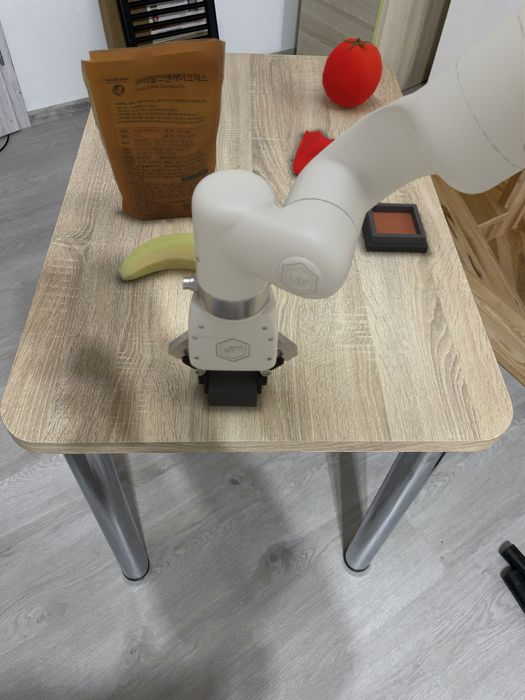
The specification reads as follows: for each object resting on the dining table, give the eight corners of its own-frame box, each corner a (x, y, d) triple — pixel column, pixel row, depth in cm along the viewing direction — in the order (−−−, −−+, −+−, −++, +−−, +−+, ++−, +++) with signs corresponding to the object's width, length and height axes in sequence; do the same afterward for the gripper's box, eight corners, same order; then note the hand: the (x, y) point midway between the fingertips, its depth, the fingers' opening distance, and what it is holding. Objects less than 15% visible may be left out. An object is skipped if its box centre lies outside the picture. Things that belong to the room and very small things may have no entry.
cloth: (279, 134, 109) (280, 123, 107) (344, 130, 111) (346, 119, 109) (309, 215, 93) (311, 204, 91) (384, 208, 95) (387, 198, 94)
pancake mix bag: (229, 221, 91) (229, 46, 69) (114, 229, 89) (75, 51, 67) (224, 197, 95) (222, 24, 73) (114, 204, 93) (78, 27, 71)
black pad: (255, 368, 73) (256, 354, 70) (256, 406, 69) (257, 392, 66) (211, 367, 72) (210, 353, 70) (209, 406, 69) (208, 392, 66)
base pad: (415, 214, 95) (419, 201, 93) (426, 252, 89) (431, 240, 86) (358, 212, 94) (361, 200, 92) (366, 251, 88) (369, 238, 86)
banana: (172, 202, 82) (276, 271, 77) (177, 223, 87) (276, 290, 82) (109, 264, 78) (215, 341, 73) (119, 282, 83) (219, 356, 78)
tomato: (315, 91, 121) (323, 26, 110) (368, 90, 122) (381, 27, 111) (323, 118, 114) (333, 52, 103) (380, 117, 115) (395, 52, 104)
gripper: (145, 312, 53) (163, 408, 68) (318, 316, 54) (300, 410, 68) (154, 260, 58) (169, 361, 72) (313, 264, 59) (297, 362, 73)
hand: (233, 384), depth 70 cm, fingers closed on black pad, 6 cm apart
